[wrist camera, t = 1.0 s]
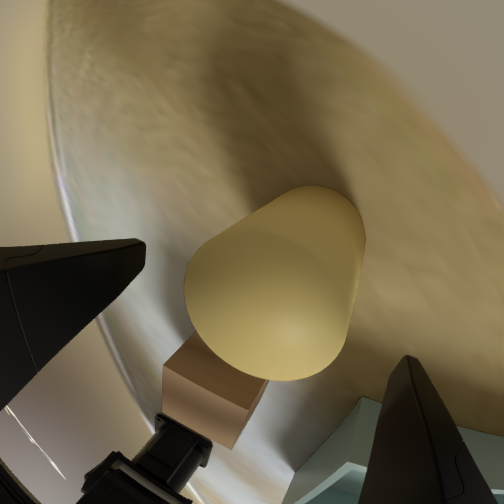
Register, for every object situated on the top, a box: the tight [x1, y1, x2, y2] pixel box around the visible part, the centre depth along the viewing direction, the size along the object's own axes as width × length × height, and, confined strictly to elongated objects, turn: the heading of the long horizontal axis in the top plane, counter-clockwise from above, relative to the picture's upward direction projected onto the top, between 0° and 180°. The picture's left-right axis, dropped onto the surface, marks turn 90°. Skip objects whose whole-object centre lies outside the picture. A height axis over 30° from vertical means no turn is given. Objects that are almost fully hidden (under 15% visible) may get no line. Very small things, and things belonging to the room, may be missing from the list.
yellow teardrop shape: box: [184, 185, 366, 381], centre depth 12 cm, size 5×5×7 cm
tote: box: [282, 396, 504, 504], centre depth 15 cm, size 13×17×5 cm
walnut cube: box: [162, 331, 269, 450], centre depth 18 cm, size 5×5×5 cm
